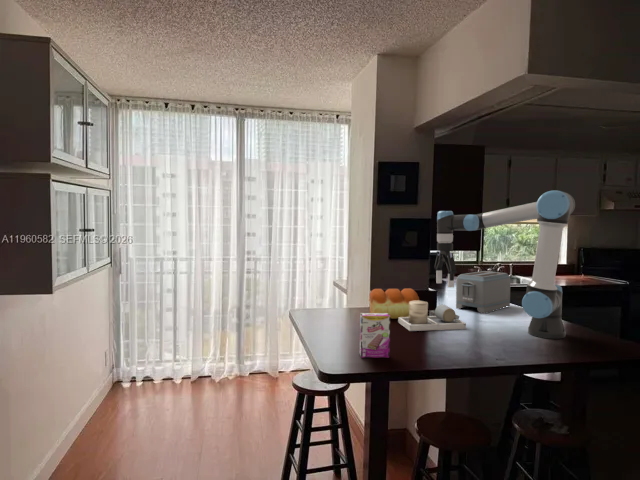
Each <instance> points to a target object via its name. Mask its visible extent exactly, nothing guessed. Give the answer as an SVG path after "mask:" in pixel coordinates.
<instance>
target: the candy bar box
mask: <svg viewBox="0 0 640 480" xmlns="http://www.w3.org/2000/svg"><path fill="white" fill-rule="evenodd" d="M359 314H360V315H359V356H360V358H361V359H369V358H370V359H372V358H374V359H376V358H377V359H381V358H382V359H383V358H385V359H386V358H387V359H389V358H390V350H391V349H390V346H391V345H390V344H391V343H390V342H391V318H390V315H389V314H388V313H370V312H360V313H359Z"/></svg>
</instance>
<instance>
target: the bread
mask: <svg viewBox="0 0 640 480" xmlns="http://www.w3.org/2000/svg"><path fill="white" fill-rule="evenodd" d="M368 301H369V313H388V314H389V315H390V319H398V317H409V302H410V301H420V297H419V296H418V293H417V292H416V291H415V289H413V288H410V287H409V288H405V287H404V288H403V289H402V290H400V289H399V288H387V289H386V290H385V291H384V290H383V289H382V288H374V289H372V290H370V293H369V296H368Z"/></svg>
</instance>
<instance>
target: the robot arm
mask: <svg viewBox="0 0 640 480" xmlns="http://www.w3.org/2000/svg"><path fill="white" fill-rule="evenodd" d="M575 207H576V202H575V199H574V197H573V196H572V195H571V194H570V193H568V192H565V191H562V190H556V189H555V190H553V189H552V190H549V191H546V192H544V193H542V194H541V195H540V196H539V198H538V199H537V201H535V202H530V203H525V204H521V205H516V206H511V207H506V208H501V209H497V210H496V209H495V210H492V211H488V212H482V213H477V214H473V213H472V214H454V212H453V211H452V210H439V211H437V216H436V223H437V224H436V228H437V229H436V232H437V233H436V242H437V243H436V249H437V251H436V256H435V257H436V258H435V263H434V266H433V267H434V270H435V273H436V276H435V277H436V278H435V281H436V284H443V266H444V263H445V265H446V268H447V271H448V272H447V288H454V287H455V274H456V273H458V271H457V267H456V262H455V258H454V257H455V256H454V253H453V252H451V251H453V250H454V244H453V242H454V235H453V234H454V231H468V232H472V231H480V230H483V229H487V228H492V227H493V228H494V227H498V226H504V225H509V224H510V225H511V224H515V223H520V222H525V221H531V220H536V223H538V224H539V231H538V237H537V244H536V245H537V246H536V250H535V258H534V266H533V271H532V279H531V280H530V281H529V282H528V283H527V285H526V291H525V294H524V296H523V298H522V299H521V307H522V310H523V311H524V312H525V313H526V314H527V315H528V316H529V317H531V320H530V323H529V326H528V327H527V333H528V334H529V335H531V336H533V335H534V337H537V336H538V338H542V337H543V338H544V339H558V340H559V339H564V338H566V334H567V333H566V329H565V326H564V322H563V320H562V314H563V313H562V311H563V310H562V308H563V287H562V286H561V285H557V284H555V281H556V273H557V268H558V261H559V256H560V248H561V242H562V237H563V231H564V228H565V227H567V226H568V225H569V220H570V215H572V213H573V212H574V210H575Z"/></svg>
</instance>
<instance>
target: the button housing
mask: <svg viewBox="0 0 640 480" xmlns="http://www.w3.org/2000/svg"><path fill="white" fill-rule="evenodd" d="M435 310H436V309H433V310H428V312H429V313H428V314H429V315H428V316H436V315H435Z"/></svg>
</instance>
